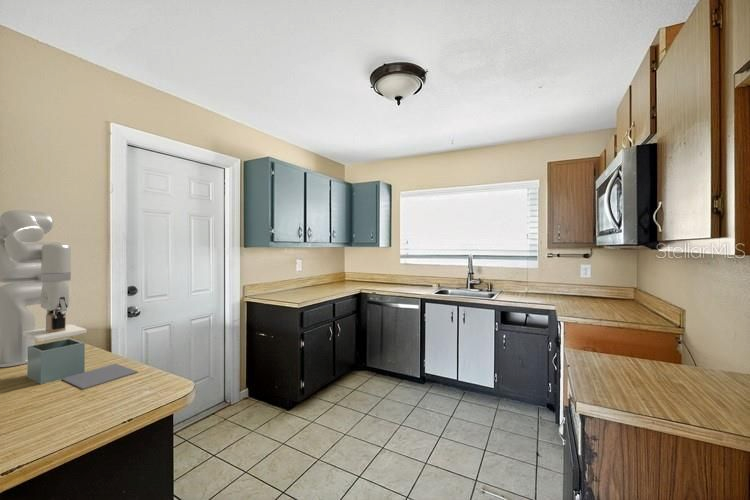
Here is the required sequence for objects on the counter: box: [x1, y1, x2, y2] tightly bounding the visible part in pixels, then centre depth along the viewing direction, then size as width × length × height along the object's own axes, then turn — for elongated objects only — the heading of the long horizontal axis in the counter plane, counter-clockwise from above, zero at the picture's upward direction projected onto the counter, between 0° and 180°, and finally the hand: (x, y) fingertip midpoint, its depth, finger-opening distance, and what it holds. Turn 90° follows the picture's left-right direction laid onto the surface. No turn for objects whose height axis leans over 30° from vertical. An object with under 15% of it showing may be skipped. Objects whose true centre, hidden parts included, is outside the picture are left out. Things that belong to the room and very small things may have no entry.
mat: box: [61, 363, 139, 391], centre depth 114 cm, size 16×16×1 cm
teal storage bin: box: [27, 337, 86, 385], centre depth 115 cm, size 12×12×11 cm
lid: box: [23, 313, 88, 343], centre depth 115 cm, size 13×13×8 cm
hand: (55, 327), depth 115 cm, fingers closed on lid, 4 cm apart
